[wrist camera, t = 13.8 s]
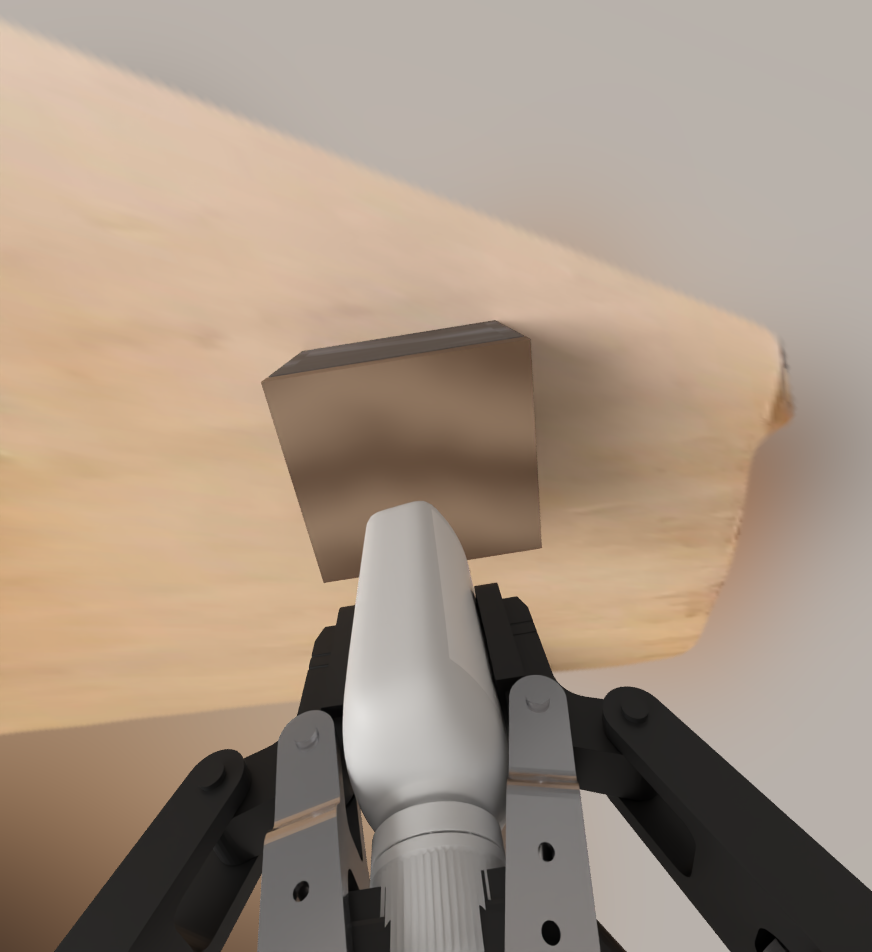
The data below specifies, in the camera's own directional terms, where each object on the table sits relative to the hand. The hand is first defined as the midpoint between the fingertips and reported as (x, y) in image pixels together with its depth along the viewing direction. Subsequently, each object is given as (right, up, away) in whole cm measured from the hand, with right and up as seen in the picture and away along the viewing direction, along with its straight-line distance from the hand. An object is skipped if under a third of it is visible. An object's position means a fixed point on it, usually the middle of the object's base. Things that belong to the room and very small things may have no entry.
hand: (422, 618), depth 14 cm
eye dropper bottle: (0, +1, +2) cm, 3 cm away
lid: (-1, +5, +11) cm, 12 cm away
